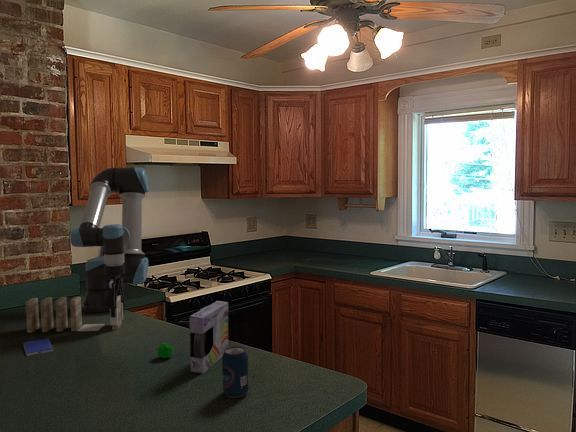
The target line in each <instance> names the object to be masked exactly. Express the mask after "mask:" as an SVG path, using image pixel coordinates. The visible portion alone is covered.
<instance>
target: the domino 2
mask: <svg viewBox="0 0 576 432" xmlns="http://www.w3.org/2000/svg"><path fill="white" fill-rule="evenodd" d="M39 302H40V318H41V332H42V333H46V332H47V333H48V332H49V331H50V330H52V329H53V328H54V310H53V309H54V308H53V306H54V305H53V297H52V296H51V297H50V296H49V297H46V298H43V299H41V300H40V301H39Z"/></svg>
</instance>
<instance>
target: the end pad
mask: <svg viewBox="0 0 576 432" xmlns="http://www.w3.org/2000/svg"><path fill="white" fill-rule="evenodd" d="M104 326H105V323H92V324H90V323H89V324H86V323H85V324H82V327H81V328H79V329H78V330H77V331H76V332H97V331H98V332H99V331H100V330H101V329H102V328H103V327H104Z"/></svg>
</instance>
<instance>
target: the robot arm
mask: <svg viewBox="0 0 576 432" xmlns="http://www.w3.org/2000/svg"><path fill="white" fill-rule="evenodd" d="M148 179H149V178H148V175H147V172H146V170H145V169H144V168H143V167H136V166H134V167H133V166H132V167H109V168H106V169H103V170H102V171H99V173H98V174H96V175H95V176H94V178H92V180H91V182H90V185H89V187H88V188H89V189H88V192H89V195H88V198H87V202H86V205H85V207H84V208H85V209H84V210H83V211H84V212H83V214H82V217H81V221H80V224H79V228H78V227H77V228H73V229H71V231H70V234H69V239H70V244H71V245H72V246H73V247H75V248H88V247H89V248H92V247H103V255H102V256H97V257H93V258H90V259H87V261H85V270H84V271H85V282H86V283H85V284H86V294H85V298H84V302H83V305H82V307H83V311H84V312H86V313H87V312H88V313H104V312H109V321H110V323H109V325H110V326H112V325H118V310H117V307H116V306H117V295H121V318H122V320H124V307H123V305H124V304H123V303H125V302H126V300H125V296H124V285H138V284H139V285H140V284H143V283H145V281H146V280H147V277H148V271H149V258H148V257H146V256H145V255H146V254H145V252H143V251H142V250H143V249H142V228H143V227H142V226H143V225H142V220H143V219H142V218H143V217H142V212H143V211H142V210H143V209H142V208H143V207H142V206H143V204H142V202H143V199H144V198H145V197H146V193H148V192H149V190H150V187H149V186H150V185H149V180H148ZM113 193H116V194H117V193H118V196H119V198H120V199H121V200H122V204H121V205H122V209H121V210H122V211H121V215H122V216H121V224H105V225H103V227H100V226H101V222H102V218H103V215H104V212H105V208H106V204H107V201H108V198H109V197H110V196H111V195H112V194H113Z"/></svg>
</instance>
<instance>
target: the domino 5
mask: <svg viewBox="0 0 576 432" xmlns="http://www.w3.org/2000/svg"><path fill="white" fill-rule="evenodd" d="M116 307H117V310H118V325H111V326H112V330H119V329H120V327H122V325H123V323H122V322H123V321H122V318H121V295H117V306H116Z"/></svg>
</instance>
